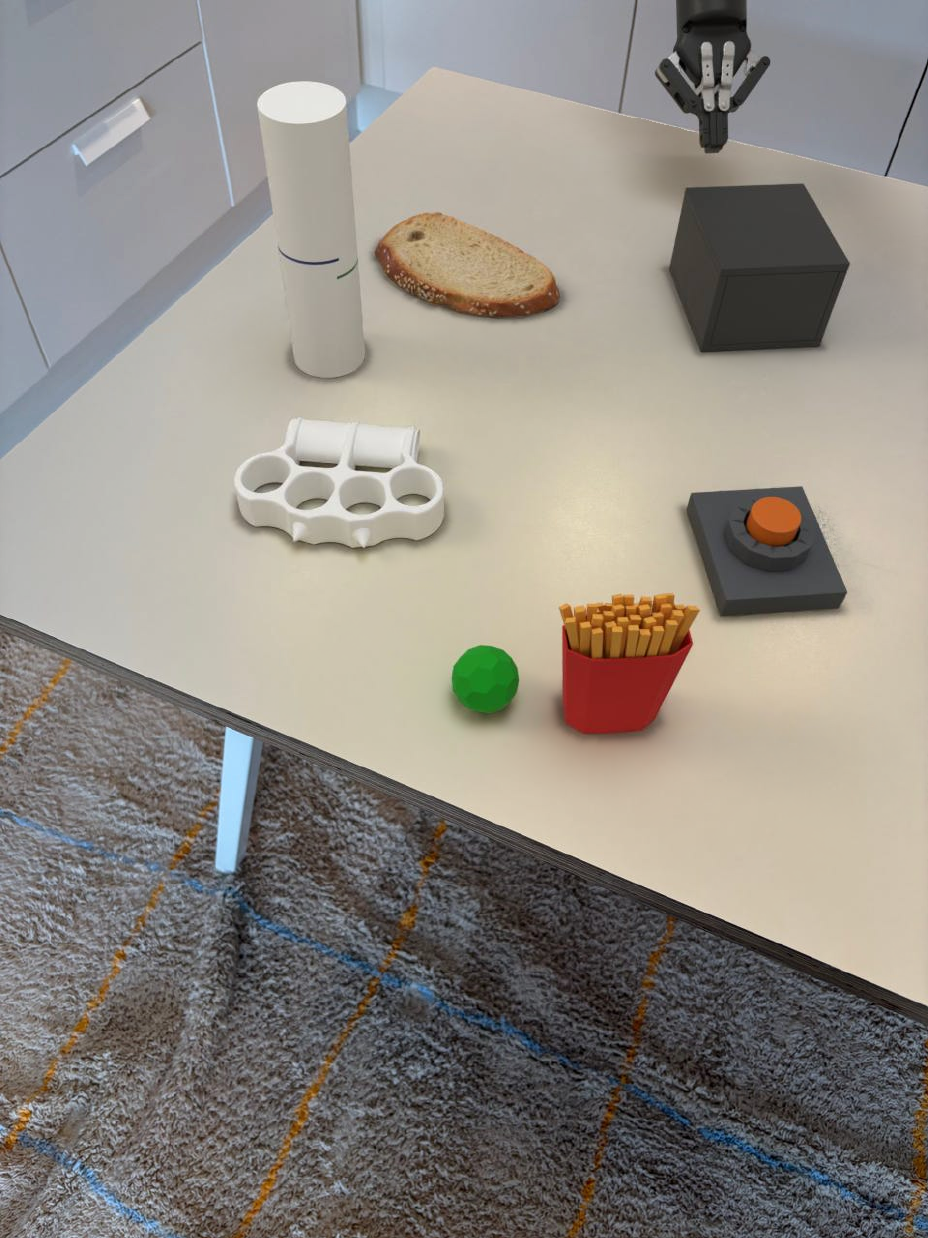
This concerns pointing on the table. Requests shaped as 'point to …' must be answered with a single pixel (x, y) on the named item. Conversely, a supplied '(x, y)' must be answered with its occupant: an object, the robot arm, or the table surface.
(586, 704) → the french fries
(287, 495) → the knuckle duster
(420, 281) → the bread slice
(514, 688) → the polyhedron
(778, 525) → the button
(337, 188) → the cylindrical container
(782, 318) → the dark grey paneled cube
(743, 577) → the control block
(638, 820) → the table surface
